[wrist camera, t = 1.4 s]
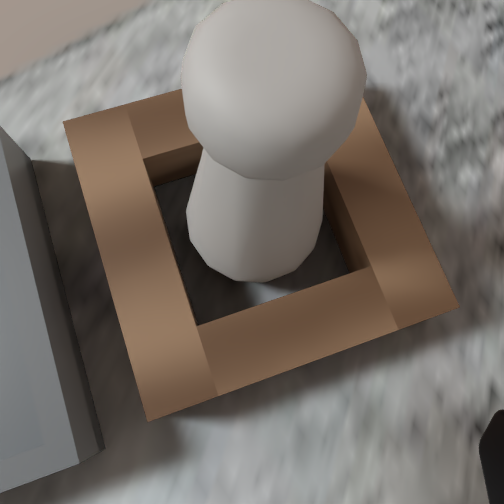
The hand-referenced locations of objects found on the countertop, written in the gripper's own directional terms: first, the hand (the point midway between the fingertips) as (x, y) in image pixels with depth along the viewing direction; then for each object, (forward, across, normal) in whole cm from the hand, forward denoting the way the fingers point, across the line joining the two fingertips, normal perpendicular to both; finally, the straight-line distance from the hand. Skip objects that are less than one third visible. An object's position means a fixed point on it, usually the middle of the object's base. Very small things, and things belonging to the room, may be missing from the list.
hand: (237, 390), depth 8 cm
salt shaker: (+14, 0, +4) cm, 15 cm away
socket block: (+14, 0, +4) cm, 15 cm away
